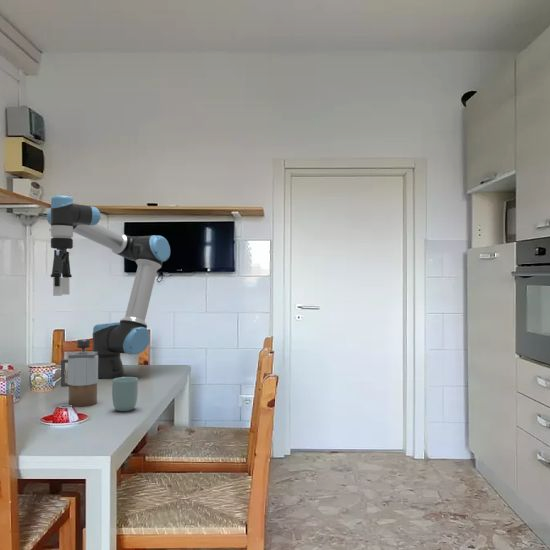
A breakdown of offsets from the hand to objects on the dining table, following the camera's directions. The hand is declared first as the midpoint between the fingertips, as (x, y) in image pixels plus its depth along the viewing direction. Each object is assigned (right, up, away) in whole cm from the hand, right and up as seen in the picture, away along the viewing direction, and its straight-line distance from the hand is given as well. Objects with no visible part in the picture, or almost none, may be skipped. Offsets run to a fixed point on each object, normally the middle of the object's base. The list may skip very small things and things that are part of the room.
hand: (61, 295), depth 183 cm
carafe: (+13, -36, -16) cm, 41 cm away
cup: (+31, -36, -24) cm, 53 cm away
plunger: (+14, -28, -15) cm, 35 cm away
